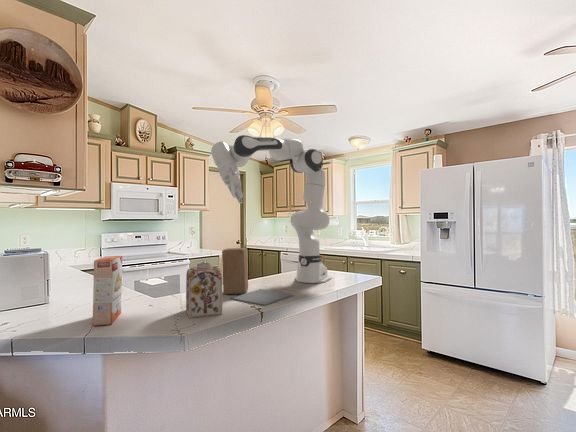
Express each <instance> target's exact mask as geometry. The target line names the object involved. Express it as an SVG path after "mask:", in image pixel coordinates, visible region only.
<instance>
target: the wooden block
mask: <svg viewBox="0 0 576 432" xmlns="http://www.w3.org/2000/svg"><path fill="white" fill-rule="evenodd" d="M221 257H222V258H221V259H222V261H221V262H222V293H223V294H224V295H241V294H245V293H247V291H248V290H249V276H248V273H249V272H248V270H249V269H248V249H247V247H237V248H236V247H234V248H233V247H232V248H231V247H230V248H225V249H223V250H222V252H221Z"/></svg>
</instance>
